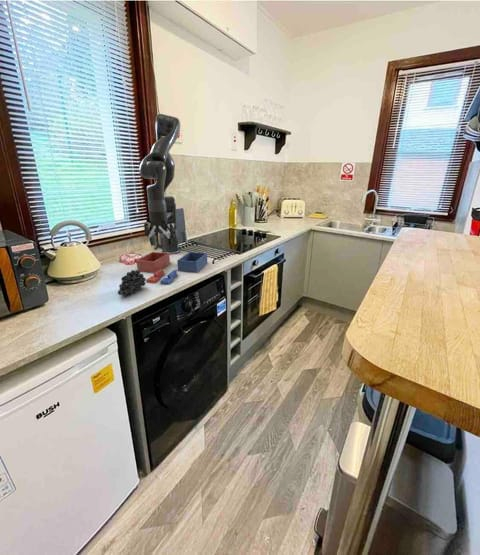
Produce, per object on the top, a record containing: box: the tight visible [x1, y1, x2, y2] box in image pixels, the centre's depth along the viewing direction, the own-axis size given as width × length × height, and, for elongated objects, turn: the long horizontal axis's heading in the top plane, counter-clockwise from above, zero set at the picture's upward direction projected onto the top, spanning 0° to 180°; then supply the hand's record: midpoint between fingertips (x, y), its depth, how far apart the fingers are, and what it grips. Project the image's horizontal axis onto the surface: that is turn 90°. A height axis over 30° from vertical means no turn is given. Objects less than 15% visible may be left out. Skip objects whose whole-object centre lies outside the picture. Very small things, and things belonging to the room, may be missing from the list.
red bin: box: [135, 251, 171, 273], centre depth 143 cm, size 10×15×6 cm
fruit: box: [117, 269, 147, 298], centre depth 113 cm, size 9×8×15 cm
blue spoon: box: [159, 269, 178, 285], centre depth 127 cm, size 11×4×3 cm, turn 166°
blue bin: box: [176, 251, 208, 273], centre depth 143 cm, size 10×15×6 cm
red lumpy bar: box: [146, 268, 165, 284], centre depth 129 cm, size 11×4×3 cm, turn 166°
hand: (161, 245), depth 126 cm, fingers open, 8 cm apart
